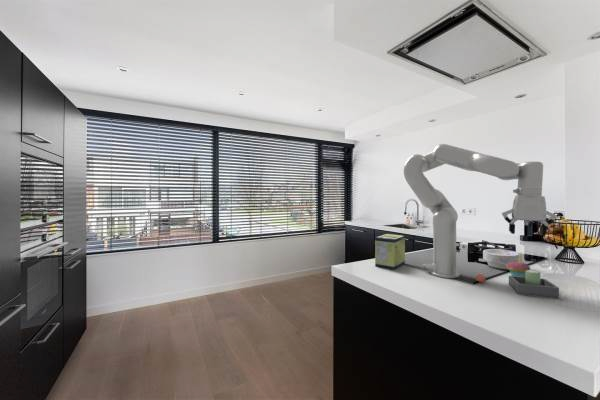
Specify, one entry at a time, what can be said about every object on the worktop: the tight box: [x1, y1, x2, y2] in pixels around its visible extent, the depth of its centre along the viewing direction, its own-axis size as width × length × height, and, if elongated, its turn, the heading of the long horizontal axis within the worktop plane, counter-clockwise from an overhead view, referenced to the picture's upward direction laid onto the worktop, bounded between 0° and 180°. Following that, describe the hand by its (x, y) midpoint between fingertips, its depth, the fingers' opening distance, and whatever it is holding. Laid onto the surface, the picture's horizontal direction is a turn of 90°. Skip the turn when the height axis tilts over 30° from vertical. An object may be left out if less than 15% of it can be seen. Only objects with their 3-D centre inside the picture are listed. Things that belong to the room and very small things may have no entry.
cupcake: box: [506, 253, 531, 277], centre depth 120 cm, size 9×8×12 cm
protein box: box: [374, 233, 406, 270], centre depth 143 cm, size 10×16×16 cm
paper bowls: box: [482, 248, 521, 270], centre depth 136 cm, size 15×15×8 cm
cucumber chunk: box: [525, 269, 541, 285], centre depth 104 cm, size 4×4×7 cm
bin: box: [508, 275, 560, 300], centre depth 104 cm, size 12×11×4 cm
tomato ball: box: [475, 273, 486, 283], centre depth 114 cm, size 4×4×4 cm
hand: (527, 234), depth 108 cm, fingers open, 9 cm apart
